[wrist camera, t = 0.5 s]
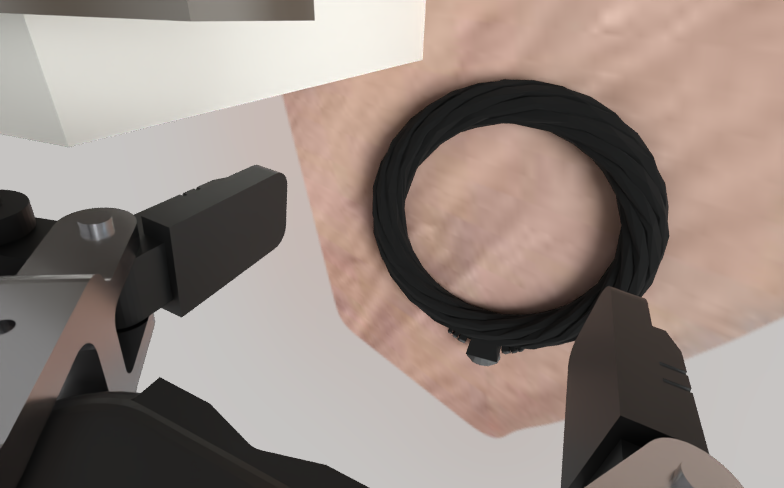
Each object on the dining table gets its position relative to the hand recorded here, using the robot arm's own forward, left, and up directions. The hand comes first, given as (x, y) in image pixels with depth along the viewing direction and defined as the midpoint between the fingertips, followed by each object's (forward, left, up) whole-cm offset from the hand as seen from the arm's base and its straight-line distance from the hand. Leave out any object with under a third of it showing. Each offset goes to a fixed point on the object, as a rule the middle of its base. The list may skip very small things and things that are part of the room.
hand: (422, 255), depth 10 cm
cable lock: (+14, +2, -32) cm, 35 cm away
